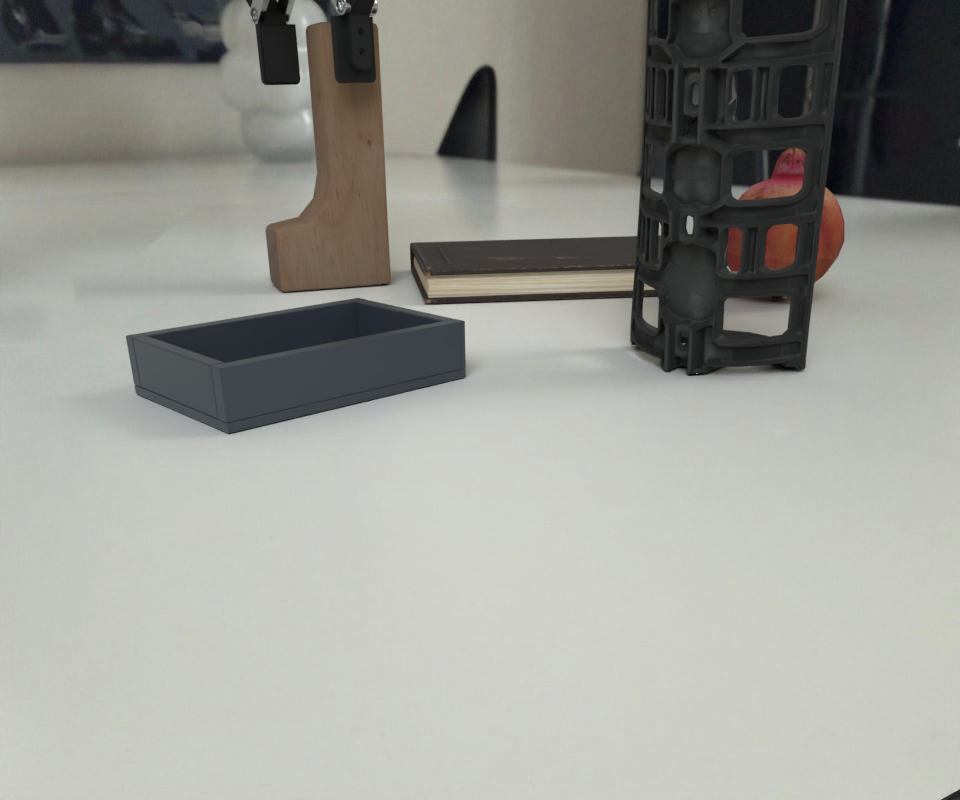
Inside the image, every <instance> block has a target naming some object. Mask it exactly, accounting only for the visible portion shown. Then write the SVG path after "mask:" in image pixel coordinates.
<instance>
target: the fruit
mask: <svg viewBox="0 0 960 800" xmlns="http://www.w3.org/2000/svg"><path fill="white" fill-rule="evenodd" d="M805 156H806V153H805V152H804V150H803V149H798V148H788V149H785V151H783V152H782V153H781V154H780V156H779V157H778V159H777V160H776V163H775V165H774V168H773V171H772V174H771V177H770V178H769V179H767V180H766V179H765V180H763V181H760V182H758V183H755V184H753V185H751V186H750V187H749V188H748V189H746V190H745V191H744V192H743V193H742V194H741V195H740V196H739V198H738V199H737V200H754V199H767V198H776V197H784V196H792V195H794V194H796V193H798V192H799V191H800V190H801V188H802V184H803V175H804V166H805ZM797 232H798V227H797V226H795V225H793V224H783V225H776V226H772V227H771V228H770V229H769V230H768V234H767V242H766V253H765V265H766V266H767V267H768V268H770V269H781V268H785V267H787V266H789V265H791V264H792V263H793V262H795V251H796V241H797ZM844 243H845V218H844V214H843V211H842V208H841V206H840V203H839V201H838V199H837V197H836V196H835V195H834V193H833V192H832V191H831V190H830V189H829V188H828V187H825V195H824V204H823V213H822V221H821V230H820V239H819V248H818V256H817V264H816V272H815V282H814V284H815V283H816V282H818V281H820V279H822V277H824V276H825V275H826V273H827V272H828V271H829V270H830V268H831V267H832V266H833V264H834V263H835V262H836V260H837V259H838V258H839V256H840V254H841V251H842V249H843V245H844ZM741 249H742V232H741V231H740V230H739V229H738V228H730V229H729V238H728V252H727V264H728V266H727V268H728V269H729V271H739V270H740V263H741ZM768 297H769V298H770V300H773V301H774V302H779V301H780V300H782V299H783V298H784V297H785V296H768Z"/></svg>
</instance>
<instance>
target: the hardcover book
mask: <svg viewBox="0 0 960 800" xmlns="http://www.w3.org/2000/svg"><path fill="white" fill-rule="evenodd" d="M636 244H637V235H625V236H623V235H621V236H592V237H591V236H587V237H557V238H556V237H554V238H552V237H551V238H524V239H523V238H521V239H519V238H518V239H489V240H486V239H485V240H483V239H482V240H455V241H454V240H453V241H452V240H450V241H422V242H421V241H419V242H416V241H415V242H410V243H409V258H410V259H409V260H410V262H409V263H410V271H411V273H412V276H413V278H414V281H415V283H416V285H417V288H418V289H419V293H420V295H421V297H422V300H423V302H424V304H425V305H438V304H441V305H442V304H465V303H492V302H493V303H494V302H520V301H521V302H522V301H526V302H527V301H551V300H578V299H579V300H580V299H604V298H606V299H607V298H608V299H610V298H632V297H633V284H634V270H635V257H636ZM660 255H661V234H659V237H658V260H659V263H660ZM727 267H728V264H727ZM644 297H658V292H657V291H656V290H655V289H654V288H652V287H650V286H648V285H646V284H644Z"/></svg>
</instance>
